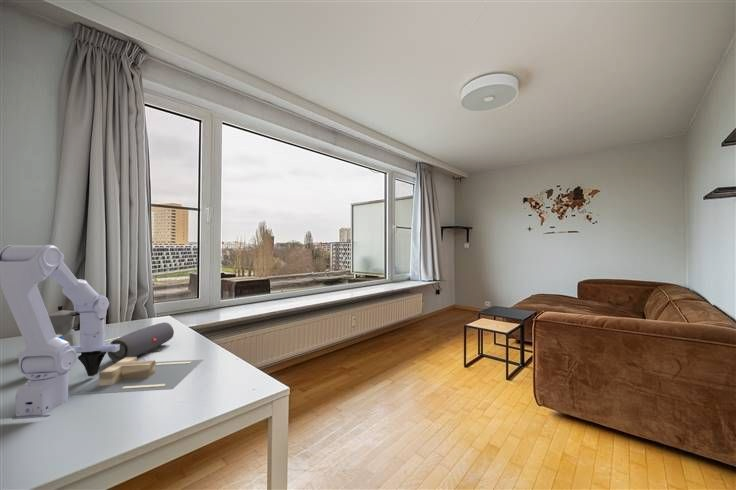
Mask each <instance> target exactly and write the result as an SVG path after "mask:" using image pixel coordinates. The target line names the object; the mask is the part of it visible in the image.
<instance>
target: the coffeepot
mask: <svg viewBox="0 0 736 490" xmlns="http://www.w3.org/2000/svg"><path fill="white" fill-rule="evenodd" d="M57 309H58V310H56V311H51V312H47V313H48V315H49V318H50V321H51V323H52V326H53V328H54V331H55V334H62V336H63V337H64V340H65V341H67V342H69V344H70V346H77V343H76V339H75V334H74V332H76V331H77V332H78V331H79V332H80V318H79V319H78V323H77V327H76V328H74V324H75V318H76V317H77V316H79V317H80V313H77V312H75V310H66V309H65V310H64V306H63V305H59V306H57ZM73 330H74V332H73Z"/></svg>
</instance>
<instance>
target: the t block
mask: <svg viewBox="0 0 736 490" xmlns="http://www.w3.org/2000/svg"><path fill="white" fill-rule="evenodd" d="M155 362H156V360H138V356H137V357H126V358H124V359H122V360H120V361H119V362H115V363H114V364H112V365H110V366H108V367H106V368H104V369H103V370H101V371H100V372H99V371H98V373H99V374H98V378H99V386H104V385H113V384H114V383H116V382H117V381H119V380H120V379H124V378H142V377H150V376H151V375H153V374H154V373H155Z"/></svg>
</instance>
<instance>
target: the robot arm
mask: <svg viewBox="0 0 736 490" xmlns="http://www.w3.org/2000/svg"><path fill="white" fill-rule="evenodd" d="M64 260H65V255H64V253H63V252H61V250H60V249H59V247H57V246H56V245H53V244H45V245H17V244H9V245H5V246H4V247H2V248H1V249H0V288H1V291H2V294H3V295H4V297H5V300H6V302H7V304H8V307H9V309H10V312H11V313H12V316H13V318H14V321H15V322H16V323H15V324H16V325H17V328H18V329H19V332H20V334H21V336H22V339H23V342H24V344H25V346H24V347H23V348H21V349H20V351H19V352H18V353H17V354H16V356H17V358H18V371H19V372H20V373H21V374H23V375H25V377H24V378H25V379H28V380H27V381H26V383H25V384H23V385H22V386H20V387H19V388H18V389H17V391H16V393H15V417H13V416H12V417H11V419H12V420H21V419H37V418H47V417H50V414H45V413H47V412H49V411H50V410H52V409H55V408H56V407H58V406H61V405H63V404H65V403H66V402H67V401H68V400H69V371H72V368H73V367H74V366H75V364H76V363H77V360H79V361H80V363H81V364H82V365H83V367H84V369H85V371H86V373H87V375H88V377H94V376H96V375H97V374H98V373H99V369H100V366H101V363H102V361H103V359H104V357H105V356H106V354H108V353H107V352H117V351H119V350H120V344H110V343H106V342H105V317H106V316H107V311H108V308H109V305H110V301H109V299H108V297H106V296H105V295H104V294H99V293H98V292H97V291H96V290H95V289H94V288H93V287H92V286H91V285H90V284H89V283H88V281H87V280H86V279H81V278H79V279H77V277H76V276H75V275H74V274H73V272H72V271H71V269H69V267H68V266H67V264H65V262H64ZM48 277H49V278H51V279H52V280H54V281H55V282H56V283H58V284H59V285H60V286H61V287H62V289H61V293H62V294H63V295H64V296H65V297H67V298H68V299H69V300H70V301H71V303H72V305H73V311H75V312H77V313H80V316H79V319H80V330H79V345H76V346H70V344H69V342H67V341H65V340H63V339H61V338H58V337H57V336H56V334H55V331H54V328H53V326H52V323H51V321H50V318H49V315H48V313H49V312H48V310H47V308H46V306H45V302H44V300H43V298H42V297H43V296H42V295H41V292H40V290H39V289H40V288H39V287H38V284H39V283H41V282H43V281H45V280H46V279H47V278H48ZM78 354H80V355H79V356H78ZM44 414H45V415H44Z"/></svg>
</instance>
